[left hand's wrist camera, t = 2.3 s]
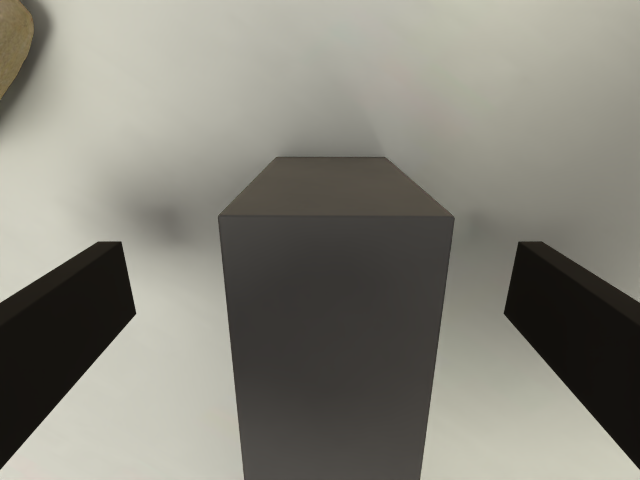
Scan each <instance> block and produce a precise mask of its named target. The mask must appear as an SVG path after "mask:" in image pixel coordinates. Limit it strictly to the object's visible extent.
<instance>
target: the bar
mask: <svg viewBox="0 0 640 480" xmlns="http://www.w3.org/2000/svg"><path fill="white" fill-rule="evenodd" d="M454 219H455V218H454V216H453V215H452V214H450V213H449V212H448V211H447V210H446V209H445V208H444V207H442V206H441V205H440V204H439V203H438V202H437V201H435V200H434V199H433V198H432V197H431V196H430V195H429V194H427V193H426V192H425V191H424V190H423V189H422V188H420V187H419V186H418V185H417V184H416V183H415V182H414V181H412V180H411V179H410V178H409V177H408V176H407V175H405V174H404V173H403V172H402V171H401V170H400V169H399V168H397V167H396V166H395V165H394V164H393V163H392V162H390V161H389V160H388V159H387V158H386V157H276V158H275V159H274V160H273V161H272V162H271V163H270V164H269V165H268V166H267V167H266V168H265V169H264V170H263V171H262V172H261V173H260V174H259V175H258V176H257V177H256V178H255V179H254V180H253V181H252V182H251V183H250V184H249V185H248V186H247V187H246V188H245V189H244V190H243V191H242V192H241V193H240V194H239V195H238V196H237V197H236V198H235V199H234V200H233V201H232V202H231V203H230V204H229V205H228V206H227V207H226V208H225V209H224V210H223V212H222V213H221V214H220V215H219V216H218V222H219V232H220V242H221V252H222V262H223V272H224V282H225V292H226V302H227V312H228V322H229V332H230V342H231V352H232V362H233V372H234V382H235V392H236V402H237V412H238V422H239V432H240V441H241V451H242V461H243V471H244V480H420V475H421V468H422V460H423V453H424V445H425V438H426V430H427V423H428V415H429V407H430V400H431V392H432V385H433V377H434V370H435V362H436V355H437V347H438V340H439V332H440V325H441V317H442V310H443V302H444V295H445V287H446V279H447V272H448V264H449V257H450V249H451V242H452V234H453V227H454Z"/></svg>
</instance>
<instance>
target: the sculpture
mask: <svg viewBox="0 0 640 480" xmlns="http://www.w3.org/2000/svg"><path fill="white" fill-rule="evenodd" d="M33 33H34V25H33V19H32V15H31V13H30V12H29V11H28V10H27V9H26V8H25V7H24V6H23V5H22V3H21V2H20V1H19V0H0V99H1V98H2V96H3V95H4V93H5V92H6V90H7V89H8V87H9V86H10V85H11V83H12V82H13V80H14V79H15V78H16V76H17V74H18V72H19V70H20V68H21V66H22V64H23V62H24V60H25V59H26V58H27V55H28V52H29V49H30V46H31V42H32V38H33Z"/></svg>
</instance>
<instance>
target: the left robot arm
mask: <svg viewBox="0 0 640 480" xmlns="http://www.w3.org/2000/svg"><path fill="white" fill-rule="evenodd" d="M135 315H136V310H135V305H134V300H133V296H132V291H131V286H130V281H129V276H128V271H127V266H126V261H125V257H124V252H123V247H122V242H97V243H95V244H94V245H92V246H90V247H89V248H87V249H86V250H84V251H82V252H81V253H79V254H78V255H76V256H74V257H73V258H71V259H70V260H68V261H66V262H65V263H63V264H62V265H60V266H58V267H57V268H55V269H54V270H52V271H50V272H49V273H47V274H46V275H44V276H42V277H41V278H39V279H38V280H36V281H34V282H33V283H31V284H30V285H28V286H26V287H25V288H23V289H22V290H20V291H18V292H17V293H15V294H14V295H12V296H10V297H9V298H7V299H6V300H4V301H2V302H1V303H0V469H1V468H2V467H3V466H4V465H5V464H6V463H7V461H8V460H9V459H10V458H11V457H12V456H13V455H14V453H15V452H16V451H17V450H18V449H19V448H20V447H21V445H22V444H23V443H24V442H25V441H26V440H27V438H28V437H29V436H30V435H31V434H32V433H33V432H34V430H35V429H36V428H37V427H38V426H39V425H40V424H41V422H42V421H43V420H44V419H45V418H46V417H47V416H48V414H49V413H50V412H51V411H52V410H53V409H54V407H55V406H56V405H57V404H58V403H59V402H60V401H61V399H62V398H63V397H64V396H65V395H66V394H67V393H68V391H69V390H70V389H71V388H72V387H73V386H74V385H75V383H76V382H77V381H78V380H79V379H80V378H81V377H82V375H83V374H84V373H85V372H86V371H87V370H88V368H89V367H90V366H91V365H92V364H93V363H94V362H95V360H96V359H97V358H98V357H99V356H100V355H101V354H102V352H103V351H104V350H105V349H106V348H107V347H108V346H109V344H110V343H111V342H112V341H113V340H114V339H115V338H116V336H117V335H118V334H119V333H120V332H121V331H122V329H123V328H124V327H125V326H126V325H127V324H128V323H129V321H130V320H131V319H132V318H133V317H134V316H135ZM504 315H505V316H506V317H507V318H508V319H509V320H510V321H511V323H512V324H513V325H514V326H515V327H516V328H517V329H518V331H519V332H520V333H521V334H522V335H523V336H524V338H525V339H526V340H527V341H528V342H529V343H530V344H531V346H532V347H533V348H534V349H535V350H536V351H537V352H538V354H539V355H540V356H541V357H542V358H543V359H544V360H545V362H546V363H547V364H548V365H549V366H550V367H551V368H552V370H553V371H554V372H555V373H556V374H557V375H558V377H559V378H560V379H561V380H562V381H563V382H564V383H565V385H566V386H567V387H568V388H569V389H570V390H571V391H572V393H573V394H574V395H575V396H576V397H577V398H578V399H579V401H580V402H581V403H582V404H583V405H584V406H585V408H586V409H587V410H588V411H589V412H590V413H591V414H592V416H593V417H594V418H595V419H596V420H597V421H598V422H599V424H600V425H601V426H602V427H603V428H604V429H605V430H606V432H607V433H608V434H609V435H610V436H611V437H612V438H613V440H614V441H615V442H616V443H617V444H618V445H619V447H620V448H621V449H622V450H623V451H624V452H625V453H626V455H627V456H628V457H629V458H630V459H631V460H632V461H633V463H634V464H635V465H636V466H637V467H638V468H639V469H640V303H639V302H638V301H636V300H634V299H633V298H631V297H630V296H628V295H626V294H625V293H623V292H622V291H620V290H618V289H617V288H615V287H614V286H612V285H610V284H609V283H607V282H606V281H604V280H602V279H601V278H599V277H598V276H596V275H594V274H593V273H591V272H590V271H588V270H586V269H585V268H583V267H582V266H580V265H578V264H577V263H575V262H574V261H572V260H570V259H569V258H567V257H566V256H564V255H562V254H561V253H559V252H558V251H556V250H554V249H553V248H551V247H550V246H548V245H546V244H545V243H543V242H518V247H517V252H516V257H515V261H514V266H513V271H512V276H511V281H510V286H509V291H508V295H507V300H506V305H505V310H504Z"/></svg>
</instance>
